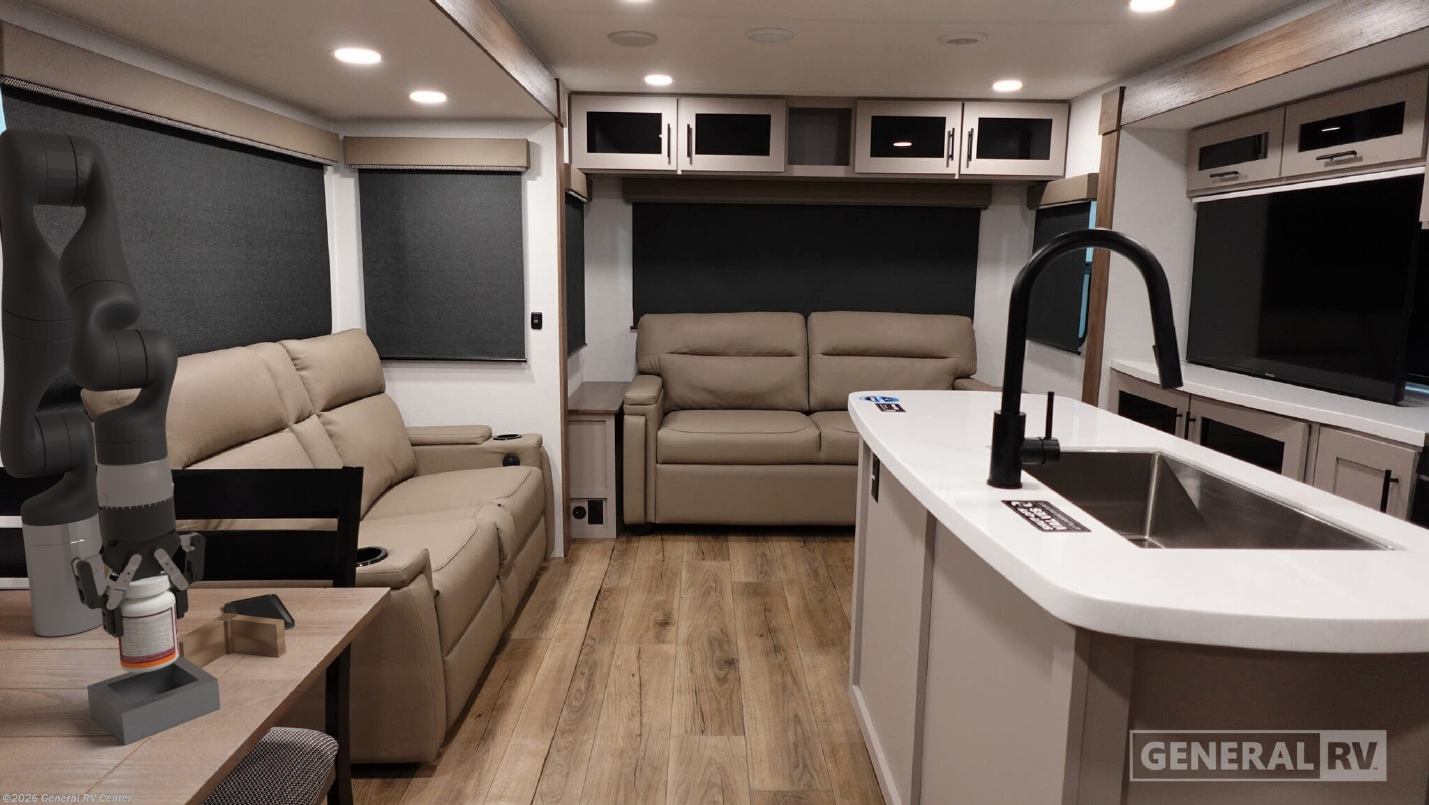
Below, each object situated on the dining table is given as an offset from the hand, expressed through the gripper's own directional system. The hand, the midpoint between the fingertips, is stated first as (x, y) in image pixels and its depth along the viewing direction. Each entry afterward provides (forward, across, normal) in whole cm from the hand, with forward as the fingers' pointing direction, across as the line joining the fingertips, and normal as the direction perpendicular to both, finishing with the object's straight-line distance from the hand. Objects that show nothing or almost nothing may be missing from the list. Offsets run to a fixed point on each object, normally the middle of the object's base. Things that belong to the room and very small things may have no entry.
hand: (147, 625), depth 105 cm
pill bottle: (+5, 0, 0) cm, 5 cm away
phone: (+12, -22, -19) cm, 31 cm away
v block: (+12, -13, -8) cm, 19 cm away
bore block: (+12, 0, 0) cm, 12 cm away
